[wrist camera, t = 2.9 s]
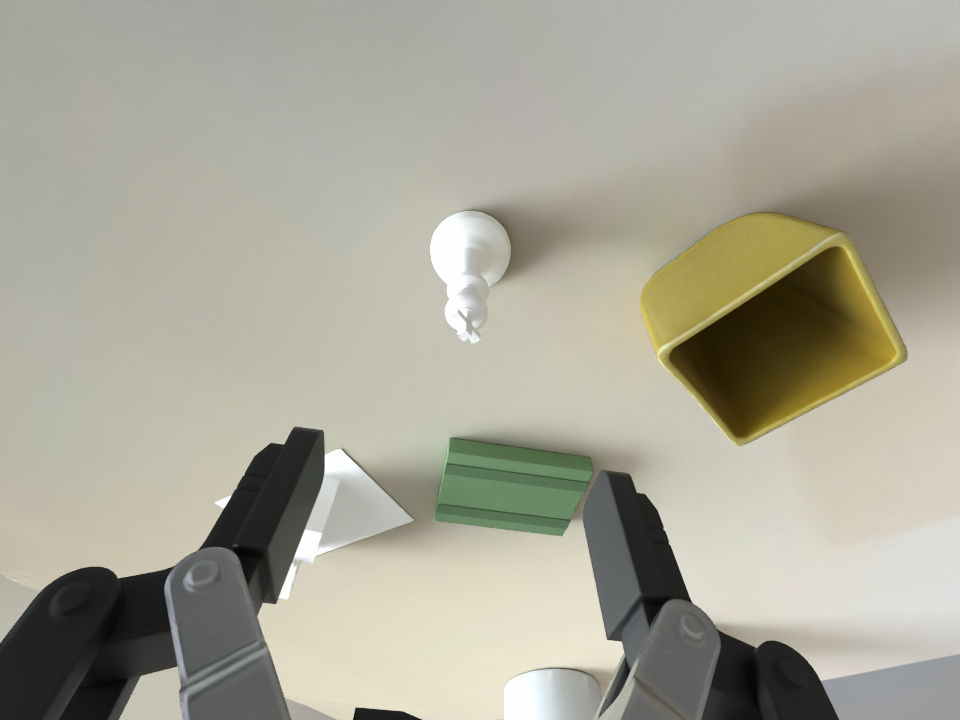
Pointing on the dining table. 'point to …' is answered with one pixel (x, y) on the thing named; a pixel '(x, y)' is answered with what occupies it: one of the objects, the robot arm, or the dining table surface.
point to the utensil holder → (551, 696)
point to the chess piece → (469, 266)
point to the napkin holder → (342, 513)
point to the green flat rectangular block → (510, 487)
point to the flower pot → (769, 321)
